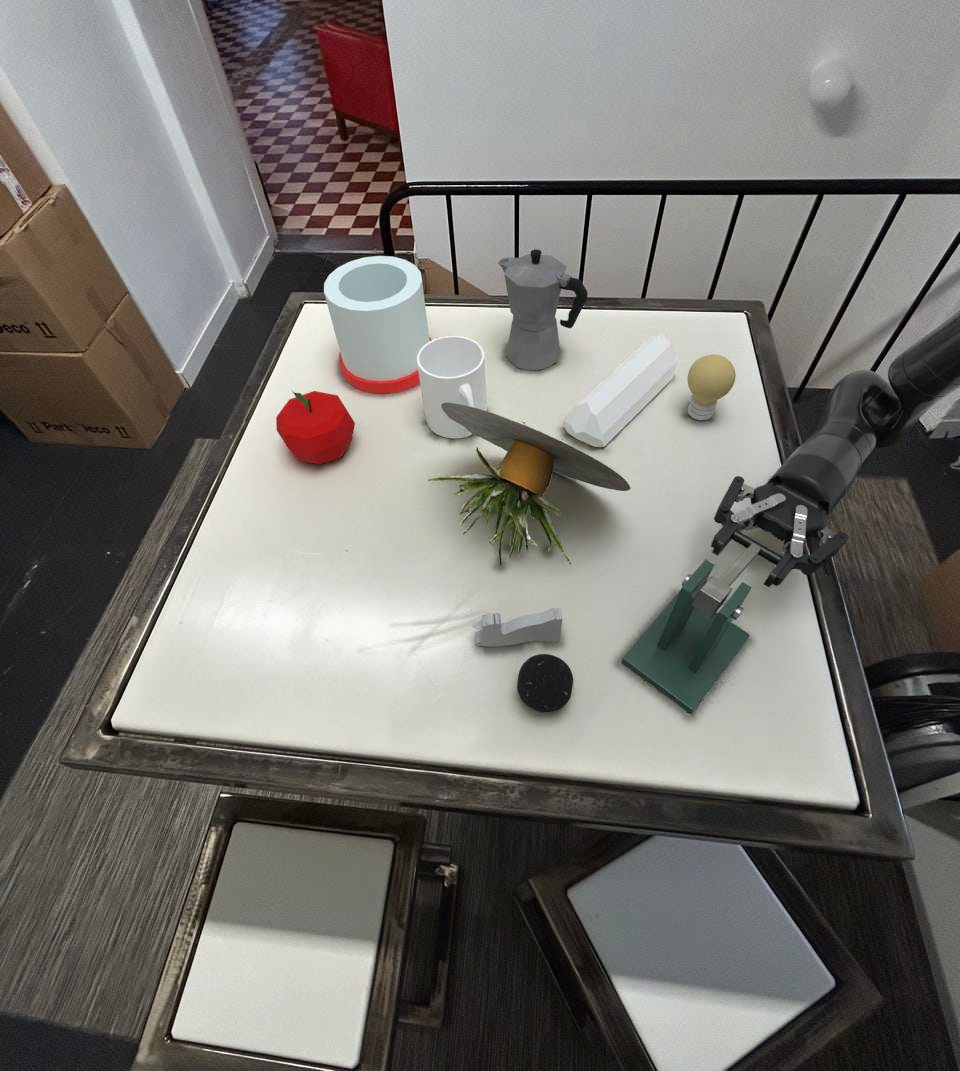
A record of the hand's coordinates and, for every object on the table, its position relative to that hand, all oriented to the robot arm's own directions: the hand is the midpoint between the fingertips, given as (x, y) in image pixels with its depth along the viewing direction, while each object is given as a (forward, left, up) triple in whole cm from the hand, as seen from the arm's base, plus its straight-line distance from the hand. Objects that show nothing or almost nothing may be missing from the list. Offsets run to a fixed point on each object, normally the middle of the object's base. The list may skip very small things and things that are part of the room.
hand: (742, 565), depth 66 cm
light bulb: (+14, -30, -9) cm, 35 cm away
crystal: (+26, -26, -9) cm, 38 cm away
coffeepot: (+42, -30, -9) cm, 53 cm away
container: (+63, -16, -9) cm, 66 cm away
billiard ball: (+12, +21, -9) cm, 26 cm away
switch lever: (+1, +3, +1) cm, 3 cm away
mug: (+44, -10, -9) cm, 46 cm away
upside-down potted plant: (+27, +1, -9) cm, 29 cm away
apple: (+59, +5, -9) cm, 60 cm away
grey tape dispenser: (+18, +17, -9) cm, 26 cm away
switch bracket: (+1, +8, -9) cm, 12 cm away
